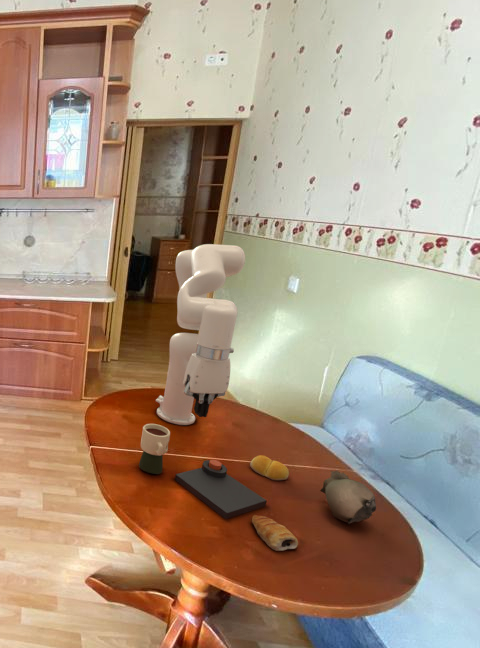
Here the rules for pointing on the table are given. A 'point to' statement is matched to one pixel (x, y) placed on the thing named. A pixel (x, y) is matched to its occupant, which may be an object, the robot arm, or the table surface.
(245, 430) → the table surface
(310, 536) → the table surface
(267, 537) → the pastry
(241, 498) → the scale
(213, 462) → the button
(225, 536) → the table surface
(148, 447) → the character mug
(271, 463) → the bread roll
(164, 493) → the table surface
